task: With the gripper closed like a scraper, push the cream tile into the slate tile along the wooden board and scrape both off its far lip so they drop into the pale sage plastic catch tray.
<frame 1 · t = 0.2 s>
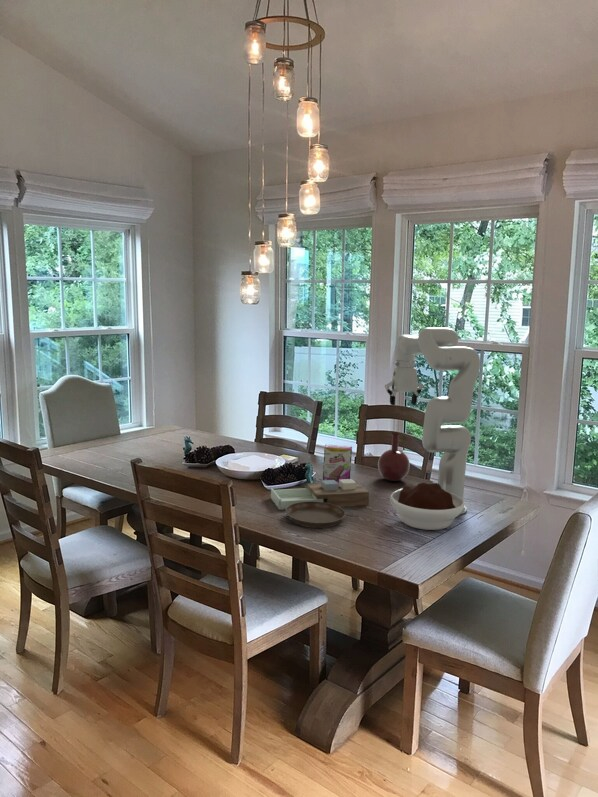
hand: (403, 404, 288), 31 cm above the table, fingers open, 9 cm apart
catch tray: (296, 502, 253), on the table
plant saucer: (315, 520, 236), on the table
candy bar box: (336, 486, 276), on the table
round-bottom flask: (392, 480, 286), on the table
slate tile: (329, 488, 255), point 5 cm above the table, touching wooden board
white serving bowl: (425, 525, 235), on the table
cream tile: (347, 487, 257), point 5 cm above the table, touching wooden board
wooden board: (336, 500, 257), on the table
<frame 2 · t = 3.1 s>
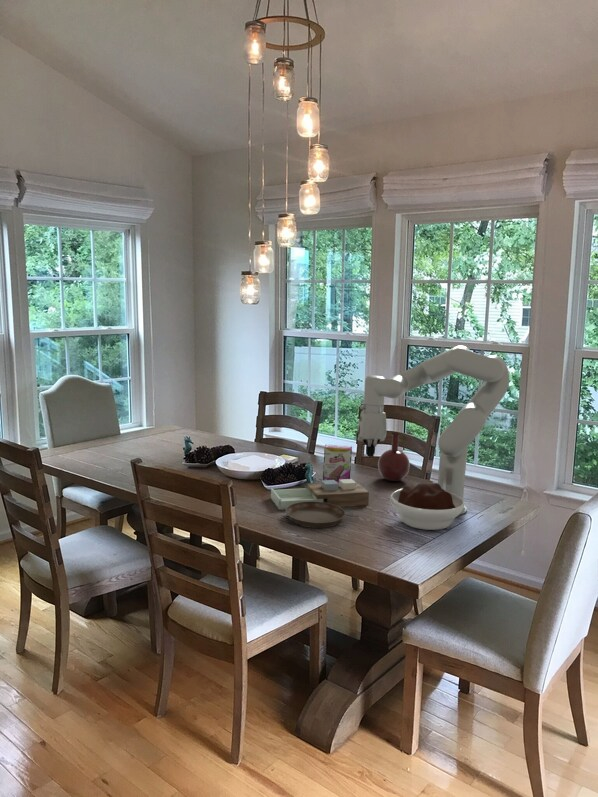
hand: (370, 455, 258), 17 cm above the table, fingers closed
nothing on the table moved.
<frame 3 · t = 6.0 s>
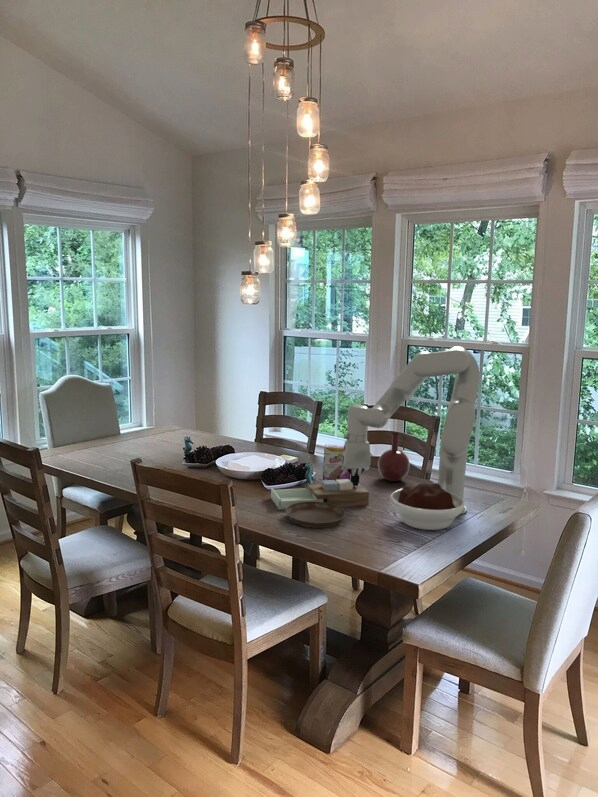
hand: (354, 485, 258), 6 cm above the table, fingers closed
cream tile: (343, 487, 257), point 5 cm above the table, touching gripper, wooden board
everything else where it was.
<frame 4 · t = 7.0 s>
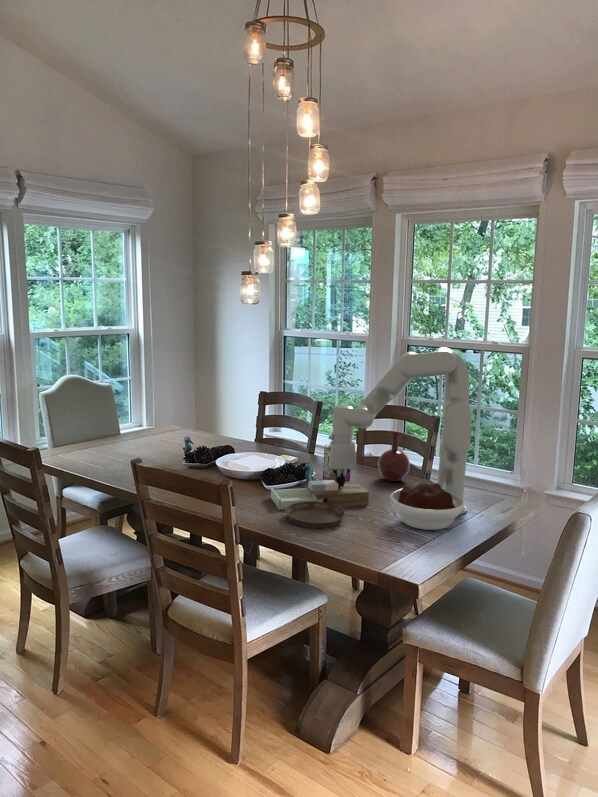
hand: (340, 485, 256), 6 cm above the table, fingers closed
slate tile: (316, 488, 254), point 5 cm above the table, touching wooden board
cream tile: (329, 488, 255), point 5 cm above the table, touching gripper
everything else where it was.
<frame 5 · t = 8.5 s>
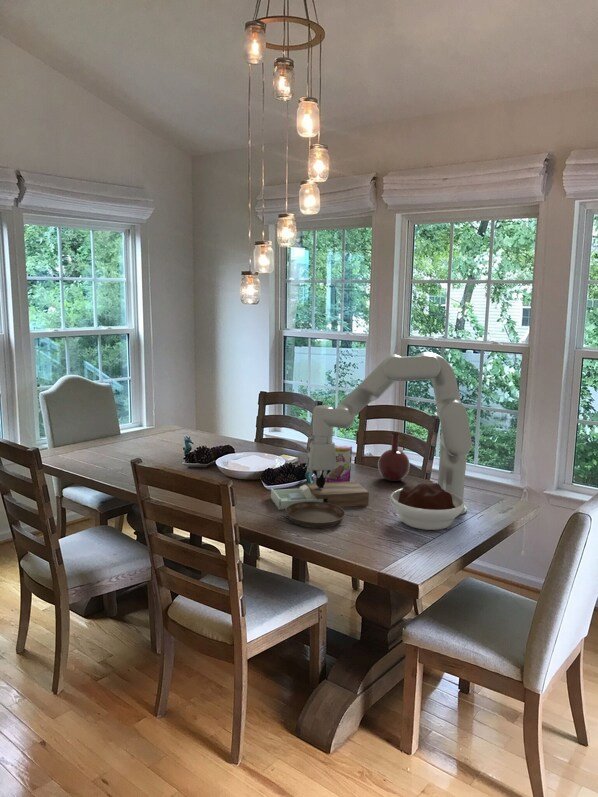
hand: (320, 486, 254), 6 cm above the table, fingers closed
slate tile: (296, 495, 252), point 3 cm above the table, tilted 180°, touching catch tray
cream tile: (309, 491, 254), point 4 cm above the table, tilted 113°, touching catch tray
everything else where it was.
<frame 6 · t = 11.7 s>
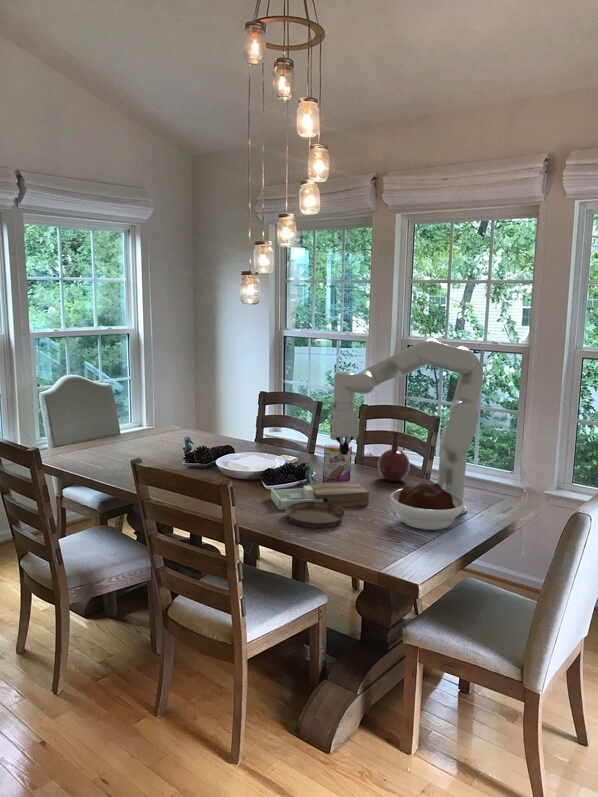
hand: (344, 454, 254), 18 cm above the table, fingers closed
cream tile: (311, 493, 254), point 3 cm above the table, tilted 96°, touching catch tray, wooden board
everything else where it was.
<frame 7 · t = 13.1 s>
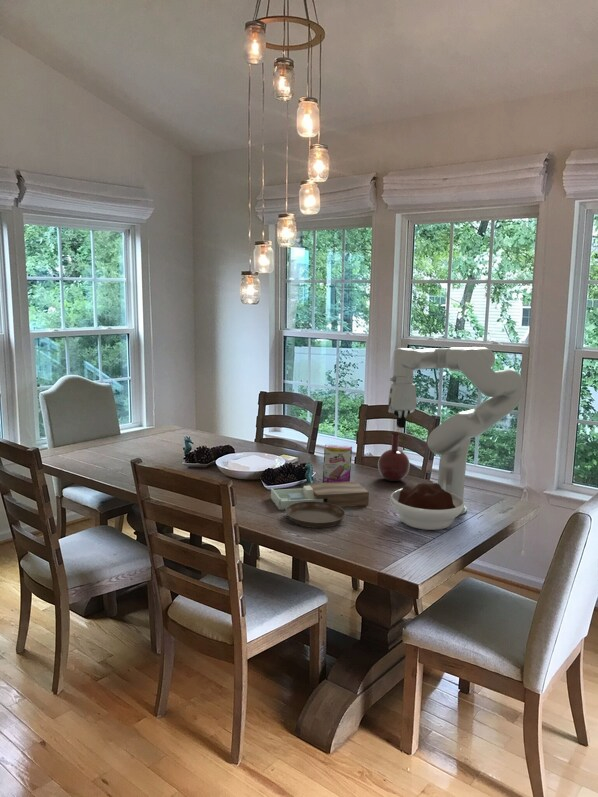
hand: (400, 427, 264), 27 cm above the table, fingers closed
nothing on the table moved.
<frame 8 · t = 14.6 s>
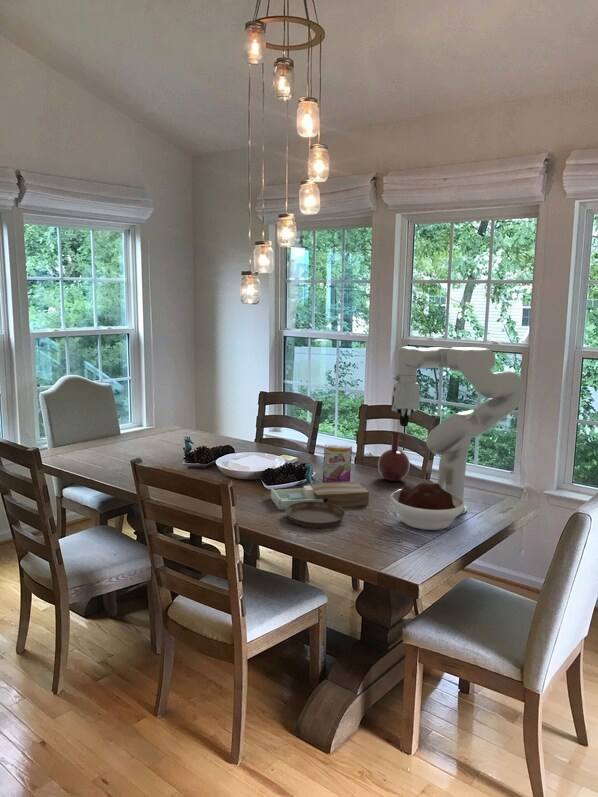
hand: (403, 425, 265), 27 cm above the table, fingers closed
nothing on the table moved.
at the end: cream tile inside the target area on the catch tray (5.7 cm from its centre), point 3.2 cm above the catch tray's base; slate tile inside the target area on the catch tray (0.4 cm from its centre), point 2.9 cm above the catch tray's base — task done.
